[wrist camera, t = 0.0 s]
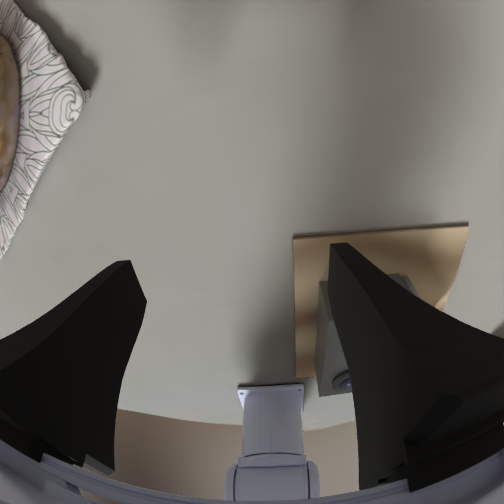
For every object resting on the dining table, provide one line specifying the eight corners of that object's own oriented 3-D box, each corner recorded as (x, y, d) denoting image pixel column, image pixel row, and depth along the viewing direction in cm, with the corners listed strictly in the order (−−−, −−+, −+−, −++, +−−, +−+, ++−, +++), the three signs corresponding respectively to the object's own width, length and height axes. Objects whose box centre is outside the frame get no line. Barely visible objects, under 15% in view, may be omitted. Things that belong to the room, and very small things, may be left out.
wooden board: (420, 355, 29) (421, 357, 28) (295, 376, 30) (295, 378, 30) (467, 225, 19) (469, 226, 19) (292, 237, 21) (292, 240, 20)
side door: (439, 308, 24) (455, 336, 20) (426, 317, 24) (441, 346, 21) (413, 267, 21) (433, 298, 18) (398, 279, 22) (416, 311, 18)
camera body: (377, 353, 27) (388, 391, 23) (314, 361, 28) (319, 402, 24) (399, 272, 22) (422, 314, 17) (319, 281, 22) (330, 328, 18)
